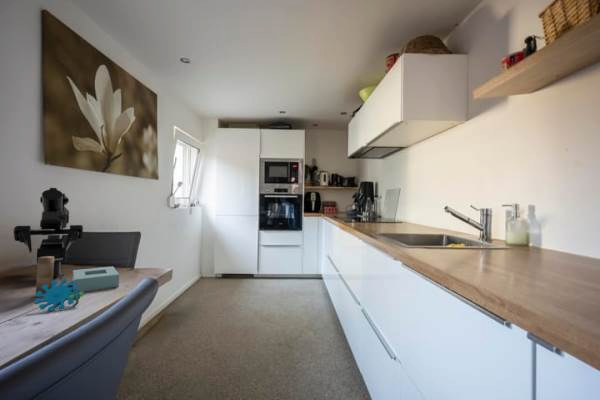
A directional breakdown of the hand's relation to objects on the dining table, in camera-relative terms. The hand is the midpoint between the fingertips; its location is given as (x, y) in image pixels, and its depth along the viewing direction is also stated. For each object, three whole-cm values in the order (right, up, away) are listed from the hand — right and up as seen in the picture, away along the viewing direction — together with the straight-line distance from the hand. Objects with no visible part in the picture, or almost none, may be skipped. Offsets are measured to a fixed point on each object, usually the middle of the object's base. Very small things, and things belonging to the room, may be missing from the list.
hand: (48, 251), depth 97 cm
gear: (+18, -14, -15) cm, 27 cm away
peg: (+4, -13, -6) cm, 15 cm away
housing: (+11, -14, +7) cm, 19 cm away
